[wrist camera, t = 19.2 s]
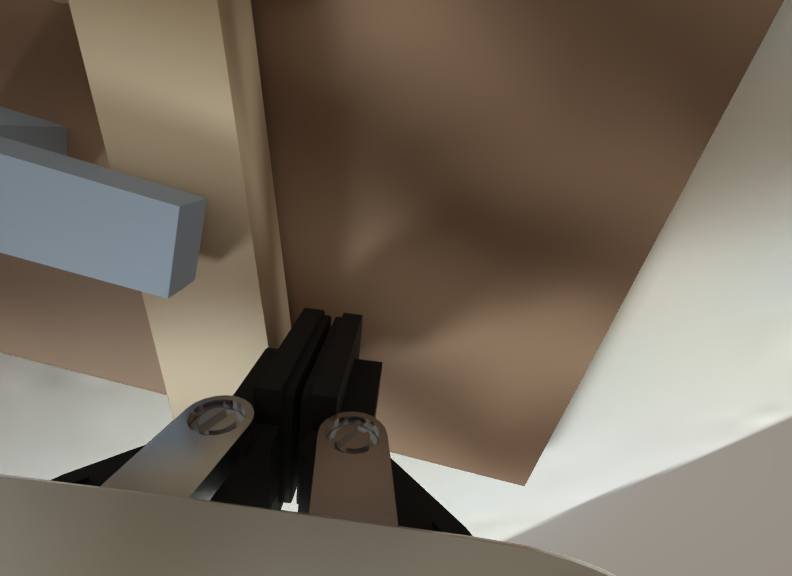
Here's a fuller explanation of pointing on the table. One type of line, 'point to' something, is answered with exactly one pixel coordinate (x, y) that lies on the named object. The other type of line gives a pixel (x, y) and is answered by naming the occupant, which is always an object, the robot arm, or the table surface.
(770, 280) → the table surface
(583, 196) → the base plate
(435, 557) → the robot arm
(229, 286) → the link
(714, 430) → the table surface
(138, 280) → the bracket
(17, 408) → the table surface
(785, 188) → the table surface
